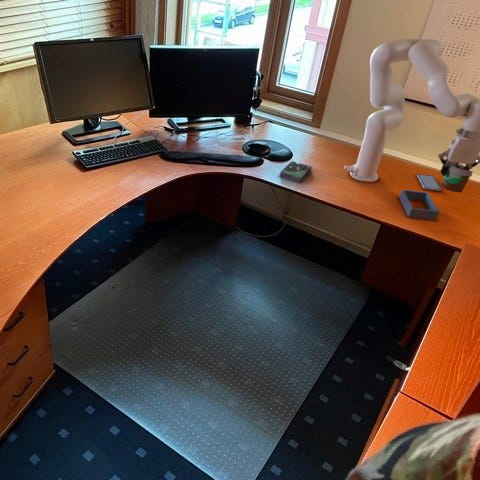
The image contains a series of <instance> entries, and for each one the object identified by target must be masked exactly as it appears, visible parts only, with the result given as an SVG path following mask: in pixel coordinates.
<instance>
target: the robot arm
mask: <svg viewBox="0 0 480 480" xmlns="http://www.w3.org/2000/svg"><path fill="white" fill-rule="evenodd" d="M443 52H444V47H443V44H442V43H441V42H440V41H439V40H437V39H433V38H432V39H431V38H430V39H427V38H425V39H424V38H401V39H395V40H390V41H386V42H383V43H381V44H380V45H378V46H376V48H375V49H374V50H373V52H372V53H371V55H370V59H369V71H370V81H369V83H370V84H369V87H370V88H369V100H370V104H371V106H372V107H374V108H377V109H379V108H383V109H380V110H376V111H374V112H373V113H371V114H370V115H369V116H368V118H367V119H366V123H365V132H364V135H363V140H362V143H361V146H360V149H359V153H358V157H357V159H356V163H354V164H353V165H346V164H345V165H344V166H343V170H346V171H347V172H349V175H350V177H352V178H353V179H355V180H356V181H359V182H365V183H374V182H377V181H378V179H379V175H378V174H377V171H378V169H379V165H380V163H381V162H380V161H381V159H382V157H383V152H384V149H385V147H386V144H387V133H388V131H392V130H395V129H397V128H399V127H400V126H402V124H403V122H404V119H405V105H406V104H405V103H406V102H405V101H406V100H405V99H406V94H405V93H406V92H405V90H404V87H403V85H402V84H400V83H399V82H397V81H393V70H392V67H391V64H392V63H398V62H403V61H410V63H411V64H412V65H413V67H414V68H415V69H416V71H417V72H418V73H419V75H421V77H422V78H423V80H424V81H425V82H426V84H427V91H428V95H429V98H430V101H431V102H432V104H433V105H434V107H435V108H436V109H437V111H438V112H439V113H440V114H441V115H443V116H444V117H446V118H449V119H450V118H457V117H459V116H463V115H464V116H465V117H464V120H463V123H462V125H461V126H460V128H458V129H457V128H456V130H455V133H456V134H455V136H454V137H453V139H452V141H451V142H450V144H449V146H448V148H447V149H446V150H445V151H442V152H441V153H439V154H438V155H437V157H438V158H439V161H440V162H441V164H442V166H441V169H440V174H441V177H444V176H445V175H446V172H447V170H448V165H449V164H450V163H451V162H454V163H459V164H465V165H463V166H464V167H465V168H466V169H467V170H468V171H471V170H472V169H473V168H475V167H476V166H478V165H479V164H480V98H479V97H477V96H474V95H472V94H470V93H461V94H457V95H455V94H454V93H453V91H452V90H451V89H450V88H449V85H448V83H447V82H448V81H447V78H448V75H449V73H450V67H449V66H448V65H447V63H446V62H445V61H444V60H443V58H442V57H441V56H442V54H443ZM444 157H446V159H445V158H444Z"/></svg>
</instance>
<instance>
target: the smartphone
mask: <svg viewBox="0 0 480 480" xmlns="http://www.w3.org/2000/svg"><path fill="white" fill-rule="evenodd" d="M416 176H417V178H418V180H419V183H420V184H421V187H422V188H423V189H424V190H430V191H438V192H440V191H441V190H442V188H441V186H440V185H439V183H438V181H437V179H436V177H434V175H430V174H421V173H417V175H416Z"/></svg>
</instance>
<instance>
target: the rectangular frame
mask: <svg viewBox="0 0 480 480" xmlns="http://www.w3.org/2000/svg"><path fill="white" fill-rule="evenodd" d="M398 198H399V200H400V202H401V205H402V207H403V209H404V211H405V213H406V215H407V217H408V218H413V219H420V220H421V219H423V220H430V221H436V220H437V219H438V216H439V213H440V210H439V209H438V208H437V206H436V204H435V203H434V201H433V199H432V197H431V195H430V194H429V192H427V191H420V190H419V191H417V190H409V189H402V190H401V192H400V194H399V196H398ZM411 200H412V201H418V202H419V201H421V202H423V203H424V205H425V207H426V209H423V208H415V207H413V205H412V203H411Z"/></svg>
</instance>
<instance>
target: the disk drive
mask: <svg viewBox="0 0 480 480" xmlns="http://www.w3.org/2000/svg"><path fill="white" fill-rule="evenodd" d="M312 168H313V166H311V165H308V164H304V163H297V162H296V161H294V160H291V161H290V162H289V163H288V164H287V165H286V166H285V167H284V168H283V169H282V170H281V171H280V173H279V177H280V178H284V179H286V180H290V181H293V182H297V183H301V182H302V181H304V179H306V178H307V176H308V175H309V174H310V173H311V171H312Z"/></svg>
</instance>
